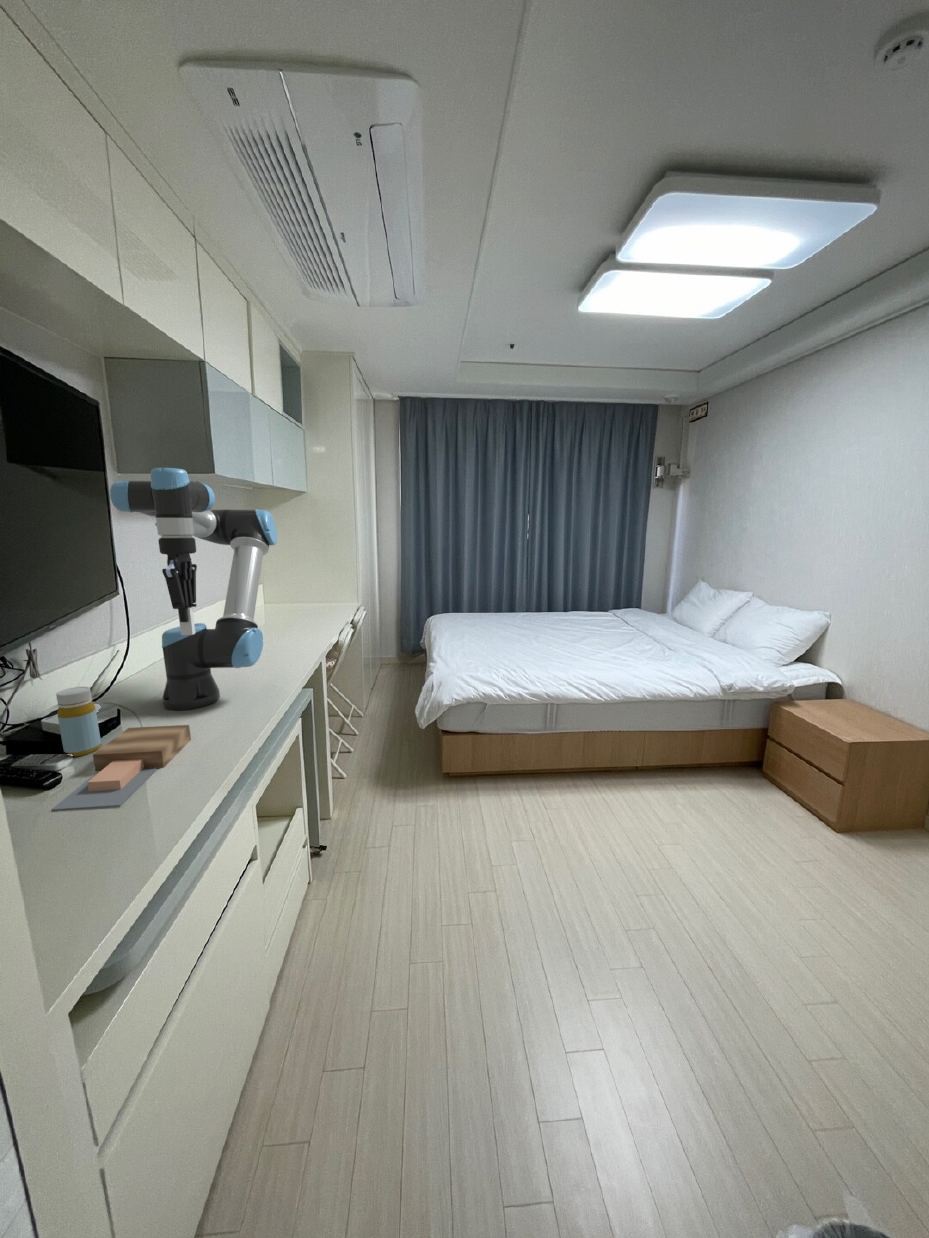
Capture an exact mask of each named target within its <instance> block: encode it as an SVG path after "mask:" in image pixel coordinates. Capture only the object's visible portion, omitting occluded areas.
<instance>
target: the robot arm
mask: <svg viewBox="0 0 929 1238" xmlns="http://www.w3.org/2000/svg"><path fill="white" fill-rule="evenodd" d="M109 492H110V495H109V496H110V497H109V498H110V501H111V503H112V505H113V507H114V508H115V509H116V510H118V511H119V512H123V513H124V512H126V513H127V512H128V513H141V514H144V515H147V516H149V517H151V518H154V519H155V523H154V526H155V527H156V530H157V535H158V536H160V537H159V538H158V539H157V541H158V546H159V547H158V548H159V553H160V554H161V555H166V556H167V558H166V559H167V560H166V564H167V567H166V568H162V570H161V572H162V574H163V576H164V580H165V583H166V586H167V590H168V595H169V599H170V602H171V606H172V609H173V610H177V612H178V613H177V614H178V622H179V626H177V627H173V628H170V629H168V630H165V631H164V632H163V633H162V635H161V648H162V653H163V661H164V669H165V675H166V676H165V677H166V683H165V686H164V690H163V694H162V707H164V709H167V710H172V711H187V710H192V709H199V708H203V707H206V706H209V705H211V704H213V703H216V702H217V701H218V700H220V698H221V692H220V688H219V686H218V684H217V683H216V681H215V679H214V677H213V674H212V671H211V669H225V668H226V669H231V668H232V669H234V668H235V669H240V668H249V667H250V668H251V667H252V666H254V665H256V663H257V662H258V661H259V659H260V658H261V655H262V652H263V647H264V641H263V640H264V637H263V636H264V635H263V632H262V630H261V629H259V626H258V624H257V622H256V621H254V618H255V612H256V607H257V606H256V605H257V599H258V598H257V597H258V591H259V585H260V576H261V570H262V563H263V556H265V555H267V554H268V553H269V549H270V546H271V547H273V546H275V545H276V544H277V541H278V533H277V528H276V527H277V526H276V523H275V519H274V517H273V515H272V513H271V512H269V511H268V510H267V509H258V508H254V509H212V508H213V507H214V505H215V502H216V495H215V492H214V491H213V489H212V488H211V487H210V486H209V485H207V484H205V483H203V482H200V481H198V480H197V481H196V480H195V481H194V480H193V481H192V480H190V479H189V475H188V472H187V470H185V469H183V468H174V467H156V468H152V469H151V471H150V480H130V479H129V480H117V481H115V482H113V483H112V484H111V486H110V489H109ZM194 537H195V538H197V539H200V540H203V541H207V542H209V543H214V544H218V545H223V546H230V547H231V549H232V550H233V556H232V559H231V561H232V562H231V566H230V571H229V572H230V573H229V579H228V584H227V592H226V598H225V604H224V609H223V613H222V617H219V618H218V619H217V620H216V623H215V627H214V628H208V627H207V625H206V624H205V623H204V622H203V623H200V622H199V623H198V622H197V623H195V619H194V611H193V608H194V607H195V608H196V607H197V569H198V568H197V567H198V565H197V564H196V563H193V562H192V558H191V554H196V553H197V543H196V539H195V538H194Z"/></svg>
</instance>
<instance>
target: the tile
mask: <svg viewBox="0 0 929 1238" xmlns="http://www.w3.org/2000/svg"><path fill="white" fill-rule="evenodd" d="M143 768H144V763H143V759H133V760H116V761H112V762H111V763H110V764H109V765H108V766H106V767H105V768H104V769H103V770H102V771H98V772H99V773H98V774H97V775H95V776H94V777H93V778H92V779H91V780H89V781H88V782H87V784H88V789H89V791H103V790H119V789H122V788H123V787H124V786H125V785H126V784H127V783H128V782H129V781H130V780H131V779H132V778H133V777H135V776H136V775H137V774H138V773H139V772H140V771H141V770H142V769H143Z"/></svg>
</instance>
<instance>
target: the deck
mask: <svg viewBox="0 0 929 1238" xmlns="http://www.w3.org/2000/svg"><path fill="white" fill-rule="evenodd" d="M191 740H192V737H191V730H190V724H179V725H162V726H159V725H157V726H156V725H155V726H139V727H138V726H137V727H135V726H134V727H128V728H126V729H125V730H124V731H122V732H121V733H119V734H118V735H117V736H115V738H113V739H112V740H110V741H109V742H108V743H106V744H105V745H104V746H102V747H101V748H99V749H98V750H96V751H95V752H93V754H92V758H93V764H94V770H95V772H100V771H102V770H103V769H104V768H105V767H106V766H108V765H109V764H110V763H111V762H112V761H116V760H133V759H143V763H144V768H143V769H163V768H165V767H166V766H167V765H168V764H169V763H170V762H171V761H172V760H173V759H174V758H175V757H176V756H177V755H178V754H179V753H180V752H181V751H182V750H183V749H184V748H185V747H186V746H187V745H188V744H189V743H190V741H191Z"/></svg>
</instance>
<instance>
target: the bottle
mask: <svg viewBox="0 0 929 1238" xmlns="http://www.w3.org/2000/svg"><path fill="white" fill-rule="evenodd" d="M55 696H56V700H57V703H58V704H57V706H58V709H57V711H56V712H57V713H56V715H57V721H58V726H59V732H60V736H61V743H62V748H63V753H64V752H65V753H68V754H72V755H73V756H74V757H83V756H86V755H90V754H92V753H96V752H97V751H98V750H100V747H101V746H102V740H101V735H100V727H99V723H98V715H97V709H96V705H95V703H94V702H93V701H92V700H93V699H92V692H91V688H90V687H89V686H76V687H75V686H74V687H68V688H64V689H61V690H59V691H58V692H56V694H55ZM65 753H64V754H65Z"/></svg>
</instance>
